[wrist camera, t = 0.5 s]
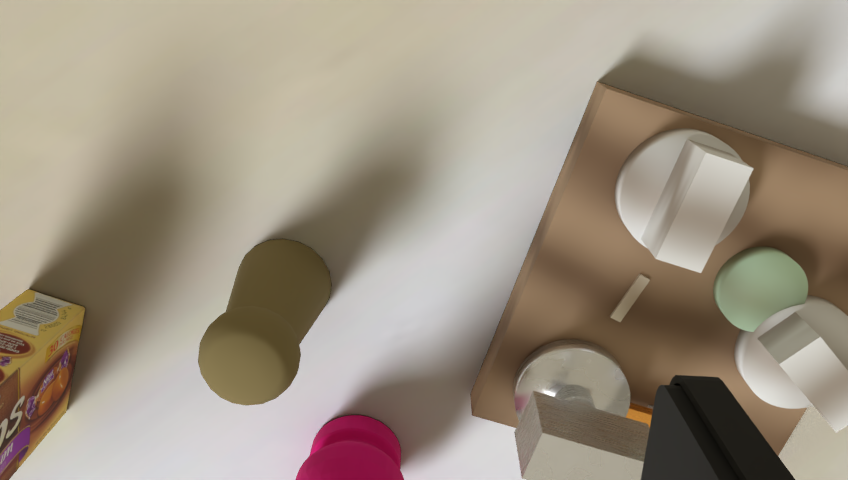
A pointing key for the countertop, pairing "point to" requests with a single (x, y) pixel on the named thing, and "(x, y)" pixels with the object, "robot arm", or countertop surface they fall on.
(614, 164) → the plate
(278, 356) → the cork
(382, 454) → the pepper mill
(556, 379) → the knob
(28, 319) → the candy box
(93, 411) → the countertop surface
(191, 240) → the countertop surface
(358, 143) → the countertop surface
